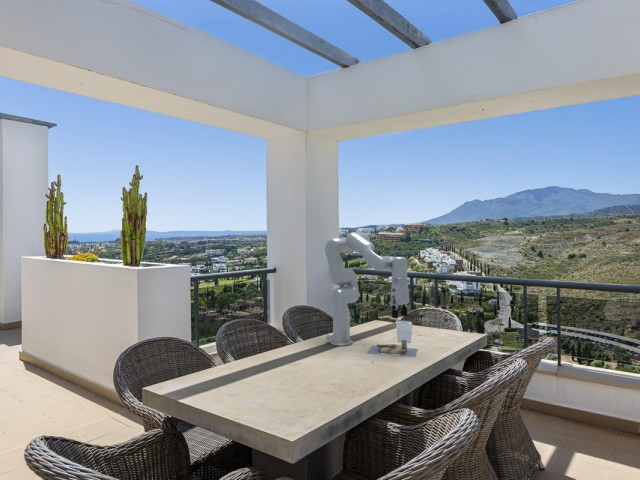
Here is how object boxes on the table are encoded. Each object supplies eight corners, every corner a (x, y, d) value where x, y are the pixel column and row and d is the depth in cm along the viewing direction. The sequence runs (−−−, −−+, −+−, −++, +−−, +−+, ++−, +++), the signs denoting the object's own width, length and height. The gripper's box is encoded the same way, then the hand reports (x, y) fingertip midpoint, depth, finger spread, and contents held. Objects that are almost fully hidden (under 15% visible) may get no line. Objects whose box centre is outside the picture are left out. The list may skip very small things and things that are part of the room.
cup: (408, 346, 237) (407, 324, 237) (393, 343, 242) (393, 322, 242) (415, 343, 244) (415, 322, 244) (400, 341, 249) (400, 320, 249)
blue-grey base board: (366, 356, 215) (366, 352, 215) (372, 348, 232) (372, 345, 232) (415, 360, 208) (415, 356, 208) (418, 351, 224) (418, 348, 224)
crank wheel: (374, 352, 216) (374, 341, 216) (379, 346, 229) (379, 335, 229) (405, 354, 211) (405, 343, 211) (408, 348, 225) (408, 337, 225)
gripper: (395, 283, 206) (395, 320, 206) (415, 280, 219) (415, 315, 218) (382, 282, 212) (383, 318, 212) (403, 280, 224) (403, 314, 224)
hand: (399, 316), depth 215 cm, fingers open, 7 cm apart
